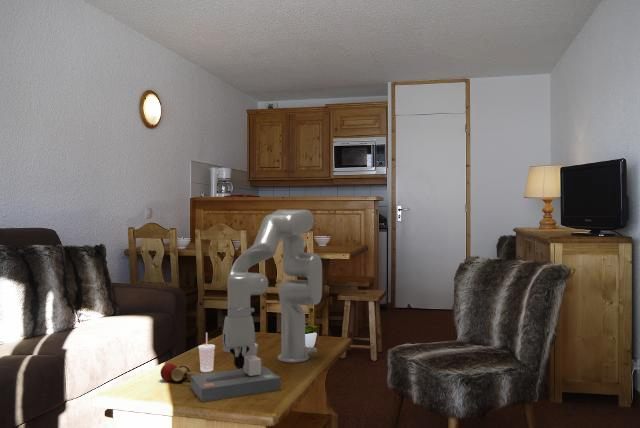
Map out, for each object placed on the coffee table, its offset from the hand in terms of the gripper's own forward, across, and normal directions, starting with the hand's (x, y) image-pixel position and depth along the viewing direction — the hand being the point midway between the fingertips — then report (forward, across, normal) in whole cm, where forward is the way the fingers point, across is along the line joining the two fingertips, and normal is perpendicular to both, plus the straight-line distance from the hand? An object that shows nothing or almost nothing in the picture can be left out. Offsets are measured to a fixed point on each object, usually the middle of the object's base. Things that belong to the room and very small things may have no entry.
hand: (239, 367), depth 181 cm
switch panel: (+7, +1, -2) cm, 7 cm away
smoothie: (+7, -10, -18) cm, 22 cm away
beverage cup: (+7, +4, -26) cm, 27 cm away
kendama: (+7, +14, -16) cm, 23 cm away
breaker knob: (+2, -5, 0) cm, 5 cm away
